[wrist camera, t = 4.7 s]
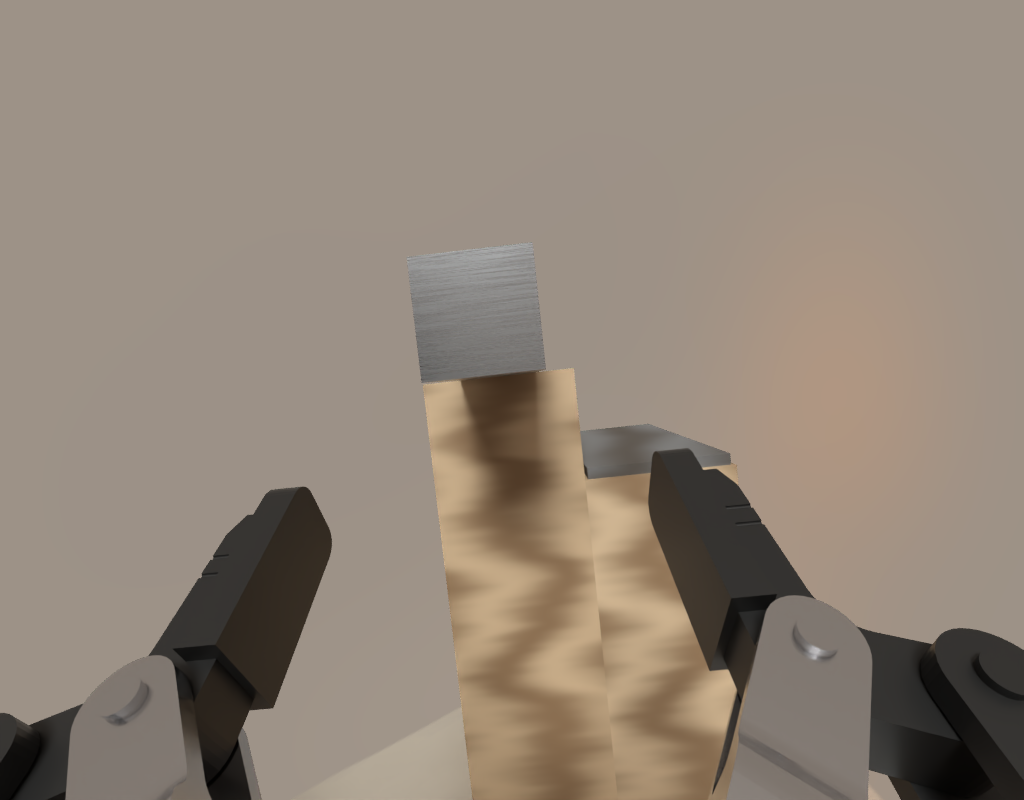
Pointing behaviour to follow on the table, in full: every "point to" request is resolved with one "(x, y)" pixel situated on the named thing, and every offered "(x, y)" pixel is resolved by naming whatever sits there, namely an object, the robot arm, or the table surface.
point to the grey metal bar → (476, 313)
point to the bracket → (567, 600)
